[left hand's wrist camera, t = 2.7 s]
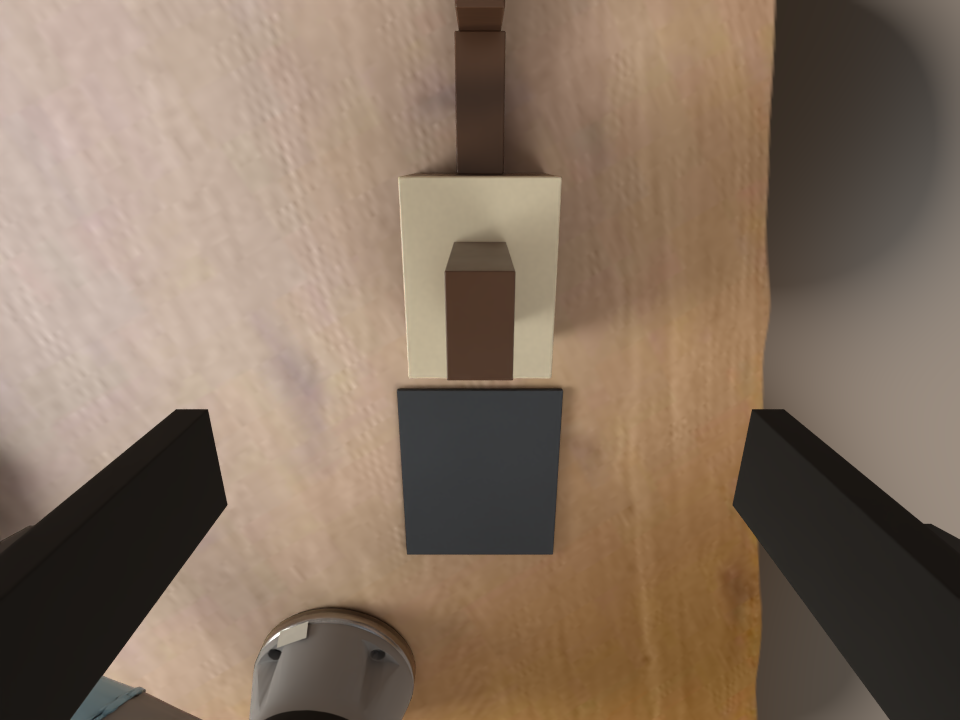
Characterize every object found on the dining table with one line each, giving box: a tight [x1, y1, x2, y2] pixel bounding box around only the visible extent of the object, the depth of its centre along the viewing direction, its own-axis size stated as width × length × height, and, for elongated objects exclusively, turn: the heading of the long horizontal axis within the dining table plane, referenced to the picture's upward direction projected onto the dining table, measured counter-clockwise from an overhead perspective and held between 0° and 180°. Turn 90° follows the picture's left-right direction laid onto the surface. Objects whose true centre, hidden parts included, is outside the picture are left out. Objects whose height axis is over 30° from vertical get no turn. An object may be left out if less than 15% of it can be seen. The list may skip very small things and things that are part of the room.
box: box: [406, 0, 554, 176], centre depth 32 cm, size 24×9×7 cm, turn 0°
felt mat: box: [397, 389, 563, 554], centre depth 44 cm, size 16×13×1 cm
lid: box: [398, 176, 562, 380], centre depth 28 cm, size 12×9×10 cm
